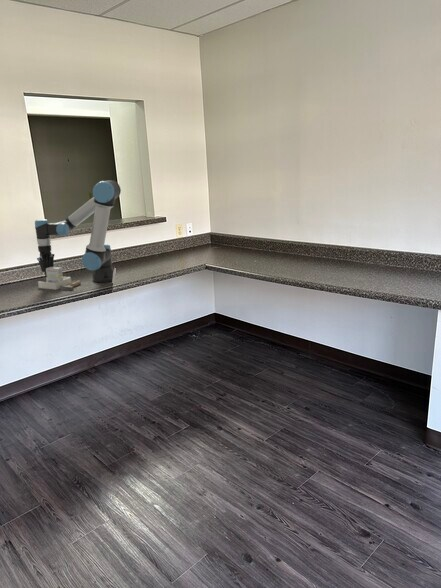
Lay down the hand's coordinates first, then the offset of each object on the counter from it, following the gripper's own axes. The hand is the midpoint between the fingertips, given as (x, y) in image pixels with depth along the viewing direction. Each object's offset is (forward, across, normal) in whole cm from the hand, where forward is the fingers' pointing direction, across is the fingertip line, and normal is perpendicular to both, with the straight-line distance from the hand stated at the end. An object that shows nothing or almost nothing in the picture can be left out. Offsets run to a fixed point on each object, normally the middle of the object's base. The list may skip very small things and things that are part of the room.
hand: (49, 281), depth 280 cm
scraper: (+2, 0, +18) cm, 18 cm away
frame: (+2, 0, +4) cm, 5 cm away
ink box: (+2, +1, +6) cm, 6 cm away
